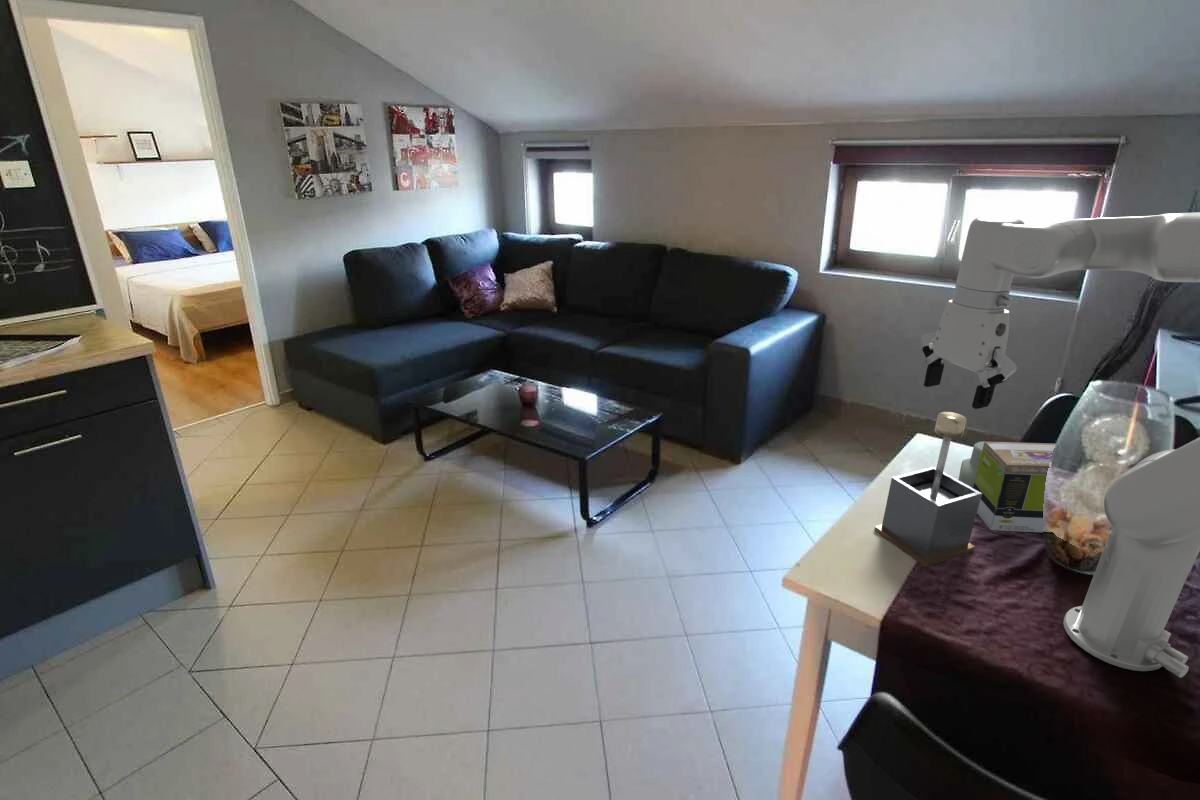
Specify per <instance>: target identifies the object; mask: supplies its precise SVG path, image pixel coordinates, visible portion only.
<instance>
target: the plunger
mask: <svg viewBox="0 0 1200 800" xmlns="http://www.w3.org/2000/svg"><path fill="white" fill-rule="evenodd" d="M937 414H938V415H937V418H936V422H935V427H934V432H935V434H937V435H938V436H940V437H942V438H943V439H942V442H941V445H940V450H939V456H938V458H937V463H936V466H935V467H936V471H935V475H934V480H933V483H928V484H924V485H921V486H917V487H913V488H914V489H916V490H918V491H919V492H921V493H923V494H924V495H926V496H928V497H929V498H931V499H933V500H934V501H936V502H937V503H940V502H944V501H947V500H951V499H954V498H957V497H955V496H954V495H952V494H950V493H948V492H947V491H945V490H943V489H941V488H940V483H941V479H942V475H943V472H944V470H945V465H946V463H947V457H948V454H949V450H950V447H951V446H950V445H951V440H952V439H953V440H954V439H955V440H956V439H957V440H958V439H960V438H963V436H964V432H965V428H966V424H967V421H968V419H967V418H966V416H965V415H962V414H960V413H957V412H952V411H942V412H939V413H937Z"/></svg>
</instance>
